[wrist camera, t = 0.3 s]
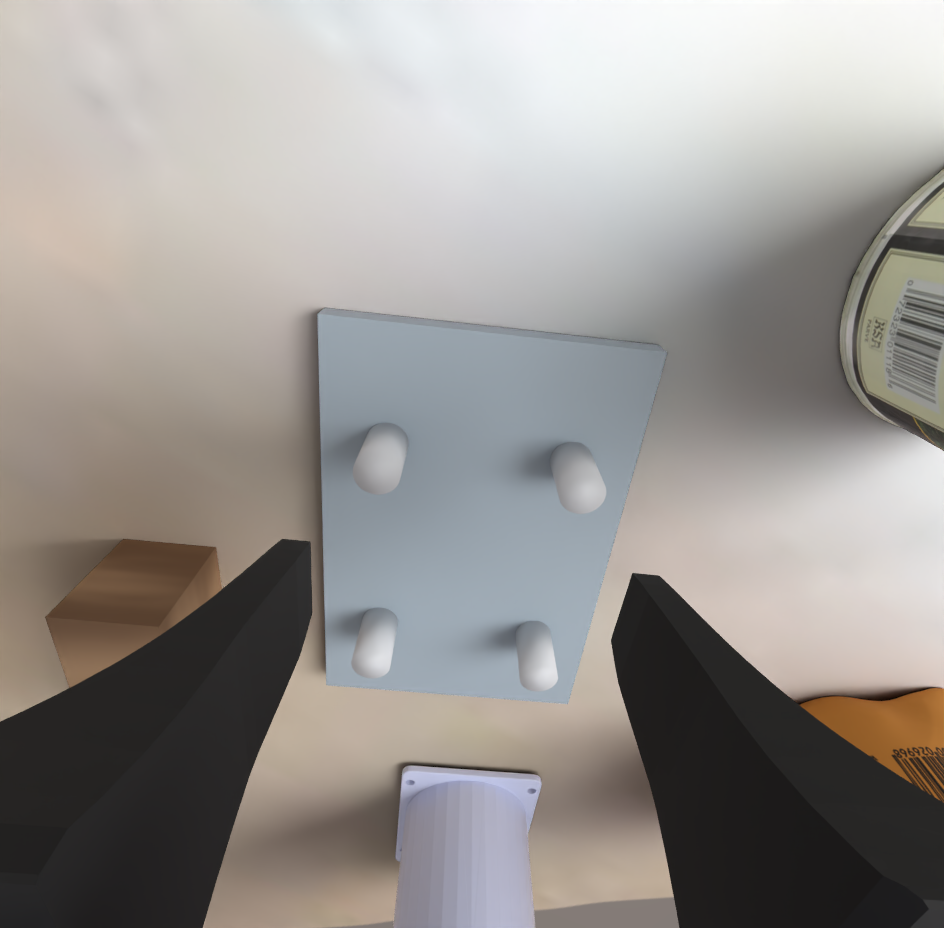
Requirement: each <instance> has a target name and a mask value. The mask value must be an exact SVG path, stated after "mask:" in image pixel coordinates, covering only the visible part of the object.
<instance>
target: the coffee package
mask: <svg viewBox="0 0 944 928" xmlns="http://www.w3.org/2000/svg"><path fill="white" fill-rule="evenodd" d="M799 705H800V706H801V707H802V708H804V709H805V710H806V711H808V712H809V713H810V714H811V715H813V716H814V717H815V718H817V719H818V720H819V721H820V722H822V723H823V724H825V725H826V726H827V727H829V728H830V729H831V730H833V731H834V732H836V733H837V734H838V735H840V736H841V737H843V738H844V739H845V740H847V741H848V742H850V743H851V744H853V745H854V746H856V747H857V748H859V749H860V750H861V751H863V752H864V753H866V754H867V755H869V756H870V757H872V758H873V759H875V760H876V761H878V762H879V763H881V764H882V765H884V766H885V767H887V768H888V769H890V770H891V771H893V772H895V773H896V774H898V775H899V776H901V777H902V778H904V779H905V780H907V781H909V782H910V783H912V784H914V785H915V786H917V787H919V788H920V789H922V790H924V791H925V792H927V793H928V794H930V795H932V796H933V797H935V798H937V799H938V800H940V801H942V802H943V803H944V689H942V688H931V689H927V690H923V691H919V692H915V693H911V694H907V695H905V696H902V697H899V698H896V699H892V700H886V701H871V700H863V699H857V698H851V697H841V696H830V697H823V698H818V699H814V700H811V701H808V702H805V703H802V704H799Z"/></svg>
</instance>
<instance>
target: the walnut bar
mask: <svg viewBox="0 0 944 928" xmlns="http://www.w3.org/2000/svg"><path fill="white" fill-rule="evenodd" d="M221 590H222V587H221V580H220V572H219V565H218V558H217V551H216V547H207V546H196V545H184V544H173V543H162V542H151V541H140V540H128V539H123V540H122V541H121V542H120V543H119V544H118V545H117V546H116V547H115V548H114V549H113V550H112V551H111V552H110V553H109V554H108V555H107V556H106V557H105V558H104V559H103V560H102V561H101V562H100V563H99V564H98V565H97V566H96V567H95V568H94V569H93V570H92V571H91V572H90V573H89V574H88V575H87V576H86V577H85V578H84V579H83V580H82V581H81V582H80V583H79V584H78V585H77V586H76V587H75V588H74V589H73V590H72V591H71V592H70V593H69V594H68V595H67V596H66V597H65V598H64V599H63V600H62V601H61V602H60V603H59V604H58V605H57V606H56V607H55V608H54V609H53V610H52V611H51V612H50V613H49V614H48V615H47V616H46V617H45V618H46V621H47V624H48V627H49V630H50V633H51V635H52V638H53V641H54V644H55V647H56V650H57V653H58V656H59V659H60V662H61V664H62V667H63V670H64V673H65V676H66V679H67V682H68V685H69V688H71V687H72V686H74V685H76V684H78V683H80V682H82V681H83V680H85V679H87V678H89V677H91V676H93V675H94V674H96V673H98V672H100V671H102V670H104V669H105V668H107V667H109V666H111V665H113V664H115V663H116V662H118V661H120V660H121V659H123V658H125V657H126V656H128V655H130V654H131V653H133V652H134V651H136V650H138V649H139V648H141V647H143V646H144V645H146V644H147V643H149V642H151V641H152V640H154V639H155V638H157V637H158V636H160V635H161V634H163V633H164V632H166V631H167V630H168V629H170V628H171V627H173V626H174V625H176V624H177V623H178V622H180V621H181V620H182V619H184V618H185V617H186V616H188V615H189V614H191V613H192V612H193V611H195V610H196V609H197V608H199V607H200V606H201V605H203V604H204V603H205V602H207V601H208V600H209V599H211V598H212V597H213V596H214V595H216V594H217V593H218V592H219V591H221Z"/></svg>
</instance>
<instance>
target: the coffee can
mask: <svg viewBox="0 0 944 928" xmlns="http://www.w3.org/2000/svg"><path fill="white" fill-rule="evenodd" d="M840 354H841V361H842V365H843V369H844V372H845V375H846V378H847V382H848V384H849V386H850V387H851V389H852V390H853V392H854V393H855V394H856V396H857V397H858V399H859V400H860V401H861V403H862V404H863V405H864V406H866V407H867V408H868V409H869V410H870V411H871V412H872V413H874V414H875V415H877V416H878V417H880V418H881V419H883V420H885V421H887V422H889V423H891V424H893V425H896V426H898V427H901V428H904V429H906V430H908V431H909V432H911V433H912V434H915V435H917V436H919V437H920V438H922V439H924V440H926V441H927V442H929V443H931V444H933V445H934V446H936V447H938V448H940V449H942V450H943V451H944V169H943V170H941V171H940V172H939V173H938V174H937V175H936V176H935V177H933V178H932V179H931V180H930V181H929V182H927V183H926V184H925V185H924V186H922V187H921V188H920V189H919V190H918V191H916V192H915V193H914V194H913V195H912V196H911V197H910V198H909V199H908V200H907V201H906V202H905V203H904V204H903V205H902V206H901V207H900V208H899V209H898V210H897V211H896V212H895V214H894V215H893V216H892V217H891V218H890V220H889V221H888V222H887V223H886V225H885V226H884V227H883V229H882V230H881V231H880V232H879V234H878V235H877V236H876V238H875V239H874V241H873V242H872V244H871V246H870V247H869V249H868V250H867V252H866V254H865V255H864V257H863V259H862V261H861V263H860V265H859V267H858V269H857V271H856V272H855V274H854V276H853V279H852V283H851V285H850V288H849V292H848V295H847V298H846V302H845V305H844V309H843V313H842V319H841V326H840Z"/></svg>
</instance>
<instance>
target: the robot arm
mask: <svg viewBox="0 0 944 928" xmlns="http://www.w3.org/2000/svg"><path fill="white" fill-rule="evenodd" d="M311 615H312V584H311V546H310V542H308V541H298V540H288V539H282V540H280V541H279V542H278V543H277V544H275V545H274V546H273V547H272V548H271V549H269V550H268V551H267V552H266V553H265V554H264V555H262V556H261V557H260V558H259V559H258V560H257V561H255V562H254V563H253V564H252V565H251V566H250V567H248V568H247V569H246V570H245V571H244V572H243V573H241V574H240V575H239V576H238V577H237V578H235V579H234V580H233V581H232V582H230V583H229V584H228V585H227V586H225V587H224V588H223V589H222V590H221V591H219V592H218V593H217V594H216V595H214V596H213V597H212V598H211V599H209V600H208V601H207V602H205V603H204V604H203V605H201V606H200V607H199V608H197V609H196V610H195V611H193V612H192V613H191V614H189V615H188V616H186V617H185V618H184V619H182V620H181V621H180V622H178V623H177V624H176V625H174V626H173V627H171V628H170V629H168V630H167V631H166V632H164V633H163V634H161V635H160V636H158V637H157V638H155V639H154V640H152V641H151V642H149V643H147V644H146V645H144V646H143V647H141V648H139V649H138V650H136V651H134V652H133V653H131V654H130V655H128V656H126V657H125V658H123V659H121V660H120V661H118V662H116V663H115V664H113V665H111V666H109V667H107V668H105V669H104V670H102V671H100V672H98V673H96V674H94V675H93V676H91V677H89V678H87V679H85V680H83V681H82V682H80V683H78V684H76V685H74V686H72V687H71V688H69V689H67V690H65V691H63V692H61V693H59V694H57V695H55V696H53V697H51V698H49V699H47V700H45V701H43V702H41V703H39V704H37V705H35V706H33V707H31V708H29V709H27V710H25V711H23V712H20V713H18V714H16V715H14V716H12V717H10V718H7V719H5V720H3V721H1V722H0V928H203V925H204V921H205V918H206V914H207V911H208V907H209V904H210V901H211V897H212V894H213V890H214V887H215V883H216V880H217V877H218V874H219V870H220V867H221V864H222V861H223V857H224V854H225V851H226V848H227V844H228V841H229V838H230V835H231V831H232V828H233V825H234V822H235V819H236V816H237V813H238V810H239V806H240V803H241V800H242V797H243V794H244V791H245V788H246V785H247V782H248V779H249V776H250V773H251V770H252V768H253V765H254V763H255V760H256V757H257V755H258V752H259V750H260V748H261V745H262V743H263V741H264V738H265V736H266V734H267V731H268V729H269V727H270V724H271V722H272V720H273V717H274V715H275V713H276V710H277V708H278V706H279V703H280V701H281V699H282V696H283V694H284V692H285V689H286V687H287V685H288V682H289V680H290V678H291V675H292V673H293V671H294V668H295V666H296V663H297V661H298V659H299V656H300V653H301V650H302V647H303V643H304V640H305V637H306V633H307V630H308V626H309V623H310V619H311ZM611 643H612V649H613V655H614V662H615V667H616V673H617V678H618V683H619V686H620V690H621V693H622V697H623V700H624V703H625V706H626V710H627V713H628V716H629V720H630V723H631V726H632V729H633V732H634V735H635V739H636V742H637V745H638V748H639V751H640V755H641V758H642V761H643V764H644V767H645V770H646V774H647V777H648V780H649V783H650V787H651V791H652V794H653V798H654V802H655V806H656V810H657V815H658V820H659V824H660V829H661V834H662V838H663V843H664V848H665V853H666V857H667V863H668V868H669V873H670V879H671V884H672V889H673V894H674V900H675V905H676V910H677V916H678V921H679V927H680V928H944V803H943V802H942V801H940V800H938V799H937V798H935V797H933V796H932V795H930V794H928V793H927V792H925V791H924V790H922V789H920V788H919V787H917V786H915V785H914V784H912V783H910V782H909V781H907V780H905V779H904V778H902V777H901V776H899V775H898V774H896V773H895V772H893V771H891V770H890V769H888V768H887V767H885V766H884V765H882V764H881V763H879V762H878V761H876V760H875V759H873V758H872V757H870V756H869V755H867V754H866V753H864V752H863V751H861V750H860V749H859V748H857V747H856V746H854V745H853V744H851V743H850V742H848V741H847V740H845V739H844V738H843V737H841V736H840V735H838V734H837V733H836V732H834V731H833V730H831V729H830V728H829V727H827V726H826V725H825V724H823V723H822V722H820V721H819V720H818V719H817V718H815V717H814V716H813V715H811V714H810V713H809V712H808V711H806V710H805V709H804V708H802V707H801V706H800V705H799V704H797V703H796V702H795V701H793V700H792V699H791V698H790V697H788V696H787V695H786V694H785V693H783V692H782V691H781V690H780V689H779V688H777V687H776V686H775V685H774V684H773V683H771V682H770V681H769V680H768V679H767V678H766V677H765V676H763V675H762V674H761V673H760V672H759V671H758V670H757V669H756V668H754V667H753V666H752V665H751V664H750V663H749V662H748V661H746V660H745V659H744V658H743V657H742V656H741V655H740V654H739V653H738V652H737V651H736V650H735V649H733V648H732V647H731V646H730V645H729V644H728V643H727V642H726V641H725V640H724V639H723V638H722V637H721V636H720V635H719V634H718V633H717V632H716V631H715V630H714V629H713V628H712V627H711V626H710V625H709V624H708V623H707V622H706V621H705V620H704V619H703V618H702V617H701V616H700V615H699V614H698V613H697V612H696V611H695V610H694V609H693V608H692V607H691V606H690V605H689V604H688V603H687V602H686V601H685V600H684V599H683V598H682V597H681V596H680V595H679V594H678V593H677V592H676V591H675V590H674V589H673V588H672V587H671V586H670V585H669V584H667V583H666V582H665V581H664V580H663V579H662V578H661V577H660V576H657V575H647V574H636V573H632V576H631V579H630V583H629V586H628V589H627V592H626V595H625V598H624V601H623V604H622V607H621V611H620V614H619V617H618V620H617V623H616V626H615V629H614V632H613V635H612V639H611ZM541 786H542V783H541V778H540V777H539V776H538V775H535V774H523V773H509V772H495V771H481V770H468V769H454V768H440V767H426V766H412V765H411V766H406V767H405V768H403V771H402V780H401V793H400V805H399V818H398V831H397V844H396V856H395V858H396V860H397V861H399V862H400V869H399V878H398V887H397V896H396V905H395V914H394V923H393V928H535V919H534V906H533V894H532V882H531V869H530V857H529V845H528V833H529V829H530V826H531V822H532V818H533V815H534V811H535V808H536V804H537V800H538V797H539V793H540V790H541Z"/></svg>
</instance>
